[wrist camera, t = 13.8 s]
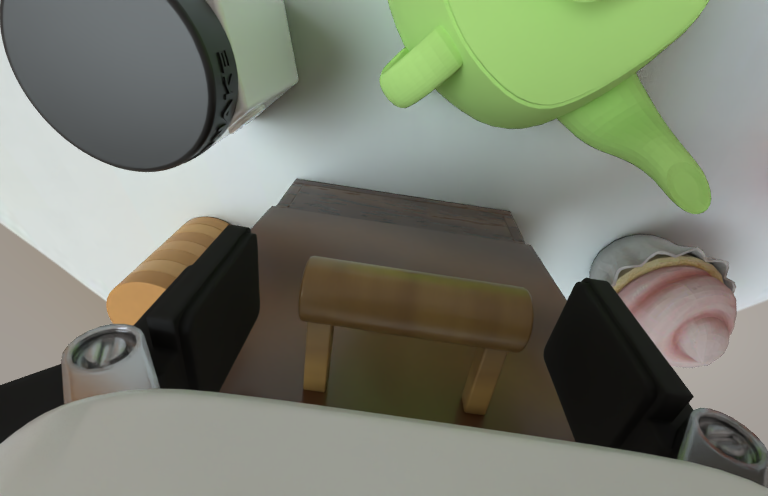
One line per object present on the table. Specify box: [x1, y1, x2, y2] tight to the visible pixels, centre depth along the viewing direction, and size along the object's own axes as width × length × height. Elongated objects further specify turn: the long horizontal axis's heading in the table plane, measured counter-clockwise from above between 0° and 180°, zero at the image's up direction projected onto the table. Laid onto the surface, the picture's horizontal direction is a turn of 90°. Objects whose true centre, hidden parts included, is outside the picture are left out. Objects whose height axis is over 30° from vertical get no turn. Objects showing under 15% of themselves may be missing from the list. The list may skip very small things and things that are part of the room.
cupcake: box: [590, 235, 736, 368], centre depth 27 cm, size 9×9×10 cm
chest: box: [276, 179, 525, 244], centre depth 31 cm, size 15×17×5 cm
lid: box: [219, 206, 575, 442], centre depth 17 cm, size 16×17×5 cm
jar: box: [0, 0, 298, 172], centre depth 20 cm, size 9×8×12 cm
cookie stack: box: [107, 217, 230, 325], centre depth 29 cm, size 6×6×9 cm
